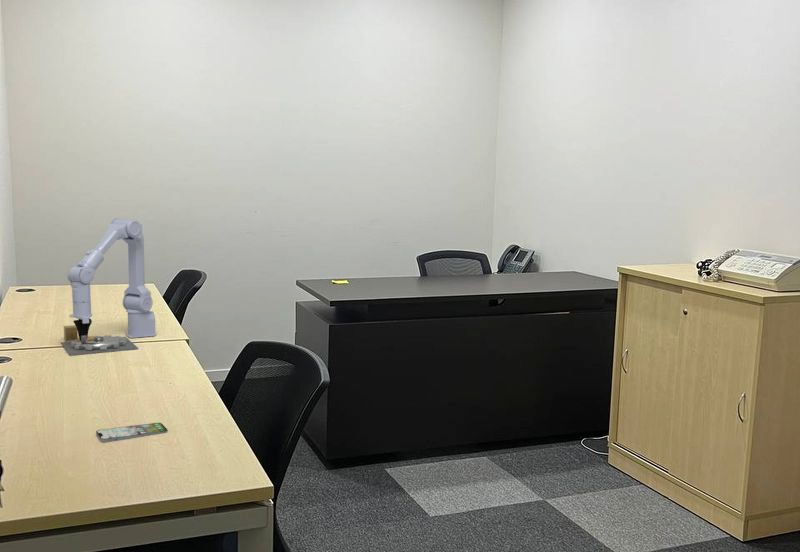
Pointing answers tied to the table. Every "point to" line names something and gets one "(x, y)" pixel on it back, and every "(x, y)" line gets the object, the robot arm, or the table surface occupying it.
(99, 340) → the sprocket
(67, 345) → the plate
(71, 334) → the brushed gold block
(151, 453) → the table surface
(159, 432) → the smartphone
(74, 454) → the table surface
